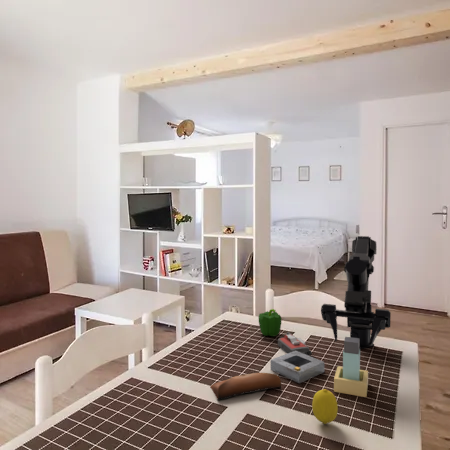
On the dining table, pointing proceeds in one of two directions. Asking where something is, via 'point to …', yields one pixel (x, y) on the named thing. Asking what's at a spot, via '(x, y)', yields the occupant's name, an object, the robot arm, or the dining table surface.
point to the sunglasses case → (245, 384)
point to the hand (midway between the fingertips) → (353, 342)
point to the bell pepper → (270, 323)
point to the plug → (351, 359)
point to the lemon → (324, 406)
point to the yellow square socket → (351, 383)
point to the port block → (297, 374)
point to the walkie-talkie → (293, 344)
